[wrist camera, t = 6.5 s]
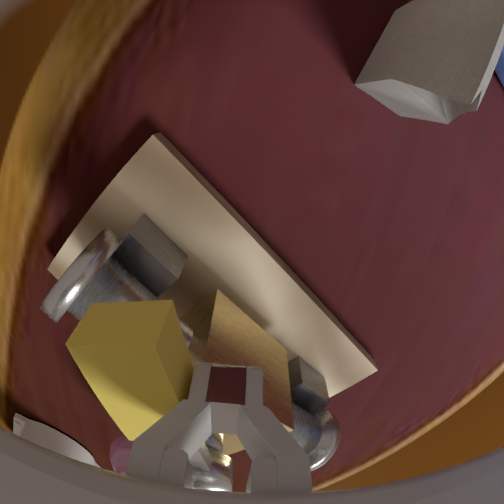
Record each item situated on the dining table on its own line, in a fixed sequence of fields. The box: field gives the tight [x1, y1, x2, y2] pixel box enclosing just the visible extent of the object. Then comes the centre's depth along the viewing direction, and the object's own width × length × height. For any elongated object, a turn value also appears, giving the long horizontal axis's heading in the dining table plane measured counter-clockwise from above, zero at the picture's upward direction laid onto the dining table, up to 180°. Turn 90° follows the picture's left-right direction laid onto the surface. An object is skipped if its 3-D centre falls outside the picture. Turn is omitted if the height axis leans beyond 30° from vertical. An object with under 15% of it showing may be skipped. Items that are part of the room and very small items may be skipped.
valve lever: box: [66, 300, 233, 492], centre depth 11 cm, size 12×3×2 cm, turn 6°
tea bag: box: [354, 0, 504, 124], centre depth 11 cm, size 4×7×10 cm, turn 153°
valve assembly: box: [40, 133, 378, 471], centre depth 19 cm, size 14×26×12 cm, turn 41°
